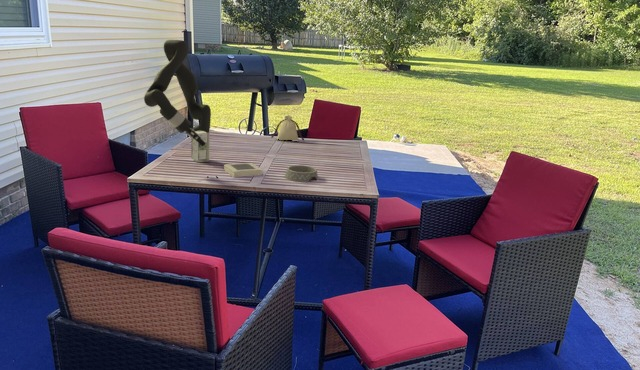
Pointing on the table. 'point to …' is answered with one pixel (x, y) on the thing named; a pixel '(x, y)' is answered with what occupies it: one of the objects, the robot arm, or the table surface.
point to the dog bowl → (301, 173)
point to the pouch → (288, 130)
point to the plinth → (242, 169)
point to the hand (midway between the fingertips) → (202, 143)
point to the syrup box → (199, 147)
